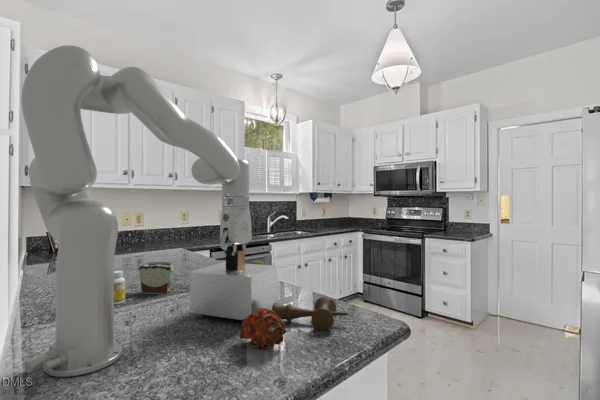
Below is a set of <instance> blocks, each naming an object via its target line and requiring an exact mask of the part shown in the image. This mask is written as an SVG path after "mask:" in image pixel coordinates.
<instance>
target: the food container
mask: <svg viewBox="0 0 600 400" xmlns="http://www.w3.org/2000/svg"><path fill="white" fill-rule="evenodd" d="M137 267H138V268H137V271H139V279H140V290H141V291H140V293H141V294H145V295H146V294H148V295H150V294H152V295H153V294H154V295H168V294H169V293H170V288H171V281H172V280H171V279H172V271H174V265H173V263H172V262H169V261H153V262H143V263H139V264H138V266H137Z"/></svg>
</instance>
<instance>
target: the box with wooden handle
mask: <svg viewBox="0 0 600 400" xmlns="http://www.w3.org/2000/svg"><path fill="white" fill-rule="evenodd" d="M235 255H237V269H236V270H226V261H221V262H219V263H214V264H212V265H208V266H205V267H202V268H198V269H195V270H191V271H189V272H190V273H189V275H190V276H189V313H191V314H198V315H202V316H210V317H211V316H212V317H219V318H227V319H233V320H240V321H242V320H243V319H244V318H246V317H248V316H249V315H251V314H255V313H256V311H257V310H258V308H265V309H272V306H273V304H274V303H275V302H277V303H278V265H270V264H264V265H259V264H250V263H246V252H245V250H236V252H235Z"/></svg>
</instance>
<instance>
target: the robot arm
mask: <svg viewBox="0 0 600 400" xmlns="http://www.w3.org/2000/svg"><path fill="white" fill-rule="evenodd" d="M99 67H100V66H99V64H98V62H97V61H96V58H95V57H94V56H93V55H92V54H91V53H90V52H89V51H88V50H86V49H84V48H82V47H80V46H77V45H69V44H67V45H60V46H57V47H54V48H52V49H49V50H48V51H46V52H45V53H44V54H42V55H40V56H39V57H38V58H37V59H36V60H35V61H34V62H33V64H31V66H30V69H29V70H28V71H27V74H26V76H25V79H24V81H23V86H22V89H21V99H20V100H21V108H22V109H21V110H22V116H23V119H24V123H25V127H26V129H27V133H28V137H29V141H30V144H31V146H32V151H33V153H34V157H33V159H32V160H31V162H30V164H29V167H28V178H29V183H30V186H31V189H32V192H33V196H34V198H35V202H36V204H37V207H38V210H39V213H40V215H41V218H42V221H43V223H44V226H45V228H46V230H47V232H48V234H49V235H50V237H52V238H53V239H54V240H56V241H57V242H58V247H57V248H58V249H57V254H56V255H57V257H56V263H55V265H56V266H55V336H54V337H55V339H54V341H55V343H53V344H50V345H49V347H48V351H46V352H45V353H44V354H43V355H41V356H38V357H35V358H33V359H31V360H27V361H26V362H25V363H24V370H25V372H26V373H28V374H29V373H32V372H34V371H37V370H39V369H41V368H42V369H43V371H44V372H45V373H46V375H49V376H53V377H57V378H59V377H60V378H68V377H77V376H82V375H85V374H89V373H93V372H96V371H99V370H102V369H104V368H106V367H108V366H110V365H113V363H115V362H117V360H119V359H120V357H121V356H122V354H123V347H122V345H121V344H119V343H118V342H114V337H115V336H114V331H115V327H114V324H115V323H114V321H115V319H114V317H115V314H114V313H115V312H114V310H115V309H114V308H115V305H114V271H115V255H116V246H117V241H118V234H119V224H118V218H117V216H116V213H115V212H114V211H113V209H111V207H110V206H109V205H107V204H106V203H103V202H101V201H98V200H95V199H92V196H91V194H90V191H89V189H90V188H92V187H93V185H94V184H95V183H96V180H97V177H98V174H97V172H98V170H97V166H96V164H95V160H94V158H93V154H92V152H91V149H90V145H89V142H88V139H87V136H86V132H85V129H84V124H83V121H82V120H83V119H82V114H81V113H82V112H81V110H85V111H91V112H98V113H106V114H116V115H117V114H118V115H125V114H129V113H131V114H132V115H134V116H135V117H136V119H138V120H139V121H140V122H141V123H142V124H143V125H144V126H145V128H147V129H148V130H149V131H150V133H152V134H153V135H154V136H155V138H157V140H158V141H160V142H163V143H164V144H167V145H170V146H173V147H176V148H179V149H183V150H186V151H188V152H190V153H192V154H194V155H195V156H197V157H198V159H196V160H195V161H194V162H193V164H192V166H191V169H190V170H191V171H190V172H191V176H192V177H193V179H194V180H195V181H196V182H198V183H199V184H202V185H216V184H220V185H221V215H220V222H219V223H220V224H219V241H220V243H219V247H220V249H222V250H223V252H224V256H225V262H226V270H236V269H237V255H235V252H236V250H245V253H246V252H247V249H246V248H247V246H248V244H249V243H250V242H251V241H252V239H253V236H252V235H253V232H252V231H253V230H252V218H251V217H252V216H251V210H250V164H249V162H248V160H245V159H242V158H237V157H236V156H235V154H234V152H232V150H231V149H230V148H229V146H228V145H227V144H226V143H225V142H224V141H223V140H222V139H221V138H220V137H219V136H218V135H216V134H215V133H214V132H212V131H211V130H209V129H207V128H206V127H204V126H202V125H200V124H199V123H197V122H195V121H194V120H192V119H191V118H189V117H188V116H187V115H185V114H184V113H183V111H182V110H181V109H180V108H179V106H178V105H177V104H175V102H174V101H173V100H172V98H170V97H169V96H168V95H167V93H166V92H165V91H164V90H163V89H162V88H161V87H160V86H159V85H158V84H157V82H156V81H155V80H154V79H153V78H152V77H151V76H150V75H149V74H148V72H146V70H143V68H142V69H141V68H139V67H136V66H127V67H124V68H122V69H120V70H118V71H116V72H114V73H113V74H112V75H102V74H101V71H100V68H99Z"/></svg>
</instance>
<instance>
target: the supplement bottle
mask: <svg viewBox="0 0 600 400" xmlns="http://www.w3.org/2000/svg"><path fill="white" fill-rule="evenodd" d="M123 276H124V272H123V270H114V306H115V305H120V304H123V303H125V301H126V278H125V277H123Z"/></svg>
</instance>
